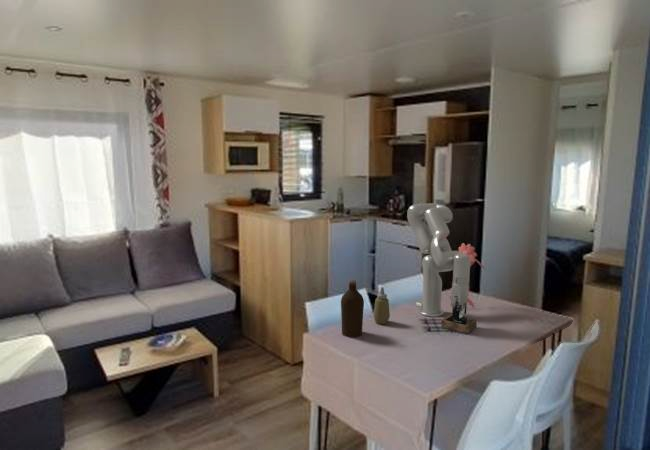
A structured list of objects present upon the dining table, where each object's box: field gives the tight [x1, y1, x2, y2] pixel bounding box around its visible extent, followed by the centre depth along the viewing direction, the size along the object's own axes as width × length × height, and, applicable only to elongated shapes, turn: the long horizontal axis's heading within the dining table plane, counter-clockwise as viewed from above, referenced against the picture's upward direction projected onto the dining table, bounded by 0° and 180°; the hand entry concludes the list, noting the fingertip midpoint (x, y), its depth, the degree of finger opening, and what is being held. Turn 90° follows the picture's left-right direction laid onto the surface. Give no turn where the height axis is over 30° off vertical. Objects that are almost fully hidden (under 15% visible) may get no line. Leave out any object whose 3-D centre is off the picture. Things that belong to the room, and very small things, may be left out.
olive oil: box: [340, 280, 365, 338], centre depth 208 cm, size 11×11×25 cm
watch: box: [452, 303, 468, 325], centre depth 215 cm, size 6×8×11 cm
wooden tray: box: [441, 314, 478, 336], centre depth 216 cm, size 13×11×4 cm
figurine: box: [449, 242, 486, 308], centre depth 250 cm, size 15×26×35 cm, turn 38°
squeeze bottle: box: [373, 286, 391, 325], centre depth 222 cm, size 8×8×18 cm
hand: (459, 315), depth 216 cm, fingers closed on watch, 8 cm apart
